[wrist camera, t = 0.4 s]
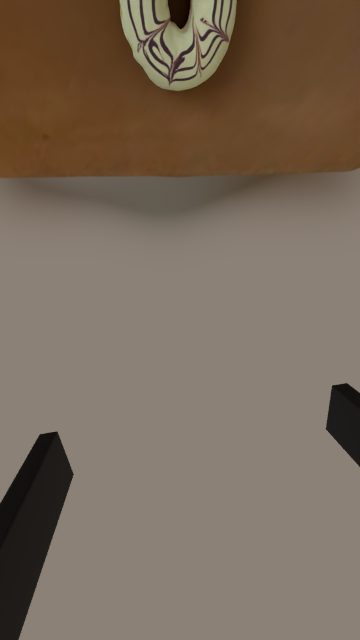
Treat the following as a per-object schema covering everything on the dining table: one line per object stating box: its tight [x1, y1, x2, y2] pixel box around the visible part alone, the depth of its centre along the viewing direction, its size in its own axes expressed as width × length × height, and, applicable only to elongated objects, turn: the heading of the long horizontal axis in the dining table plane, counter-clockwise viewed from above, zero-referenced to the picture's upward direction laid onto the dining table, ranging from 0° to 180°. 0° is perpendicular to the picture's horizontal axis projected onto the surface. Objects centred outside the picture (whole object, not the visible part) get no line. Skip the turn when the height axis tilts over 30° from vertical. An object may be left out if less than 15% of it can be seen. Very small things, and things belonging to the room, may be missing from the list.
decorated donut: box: [119, 0, 237, 91], centre depth 21 cm, size 10×11×4 cm
